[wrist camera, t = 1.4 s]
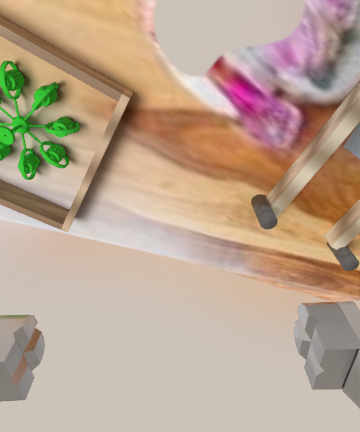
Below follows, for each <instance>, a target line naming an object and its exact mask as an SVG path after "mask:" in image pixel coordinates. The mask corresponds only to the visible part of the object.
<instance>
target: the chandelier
mask: <svg viewBox="0 0 360 432" xmlns="http://www.w3.org/2000/svg"><path fill="white" fill-rule="evenodd" d="M8 64H10V65H11V66H12V68H13V70H9V71H6V72H5V69H6V66H7V65H8ZM15 80H16V81H15ZM24 83H25V80H24V77H23V75H22V74H21V73H20V72H18V68H17V67H16V65H15V64H14V63H13V62H11V61H4V62H3V63H2V65H1V68H0V86H1V87H2V89H3V91H4V93H5V95H6V96H7V97H8V98H9V99H14V102H15V106H16V111H17V116H16V117H15V118H13V117H12V116H11V115H9V114H8V113H7V112H6V111H5V110H4V109H2V108H1V107H0V109H1V110H2V111H3V112H4V113H5V114H6V115H8V116H9V117H10V118H11V119H12V120H13V122H12V124H4V123H0V125H5V126H12V127H13V129H9V128H8V127H5V126H0V161H1V160H2V159H4V158H5V157H6V156H8V155H9V153H10V148H9V145H11V144H12V143H13V142H14V140H15V135H14V134H15V133H16V132H18V133H21V135H22V140H23V145H24V150H23V151H22V153H21V156H20V162H19V164H18V168H19V170H20V171H21V174H22V176H23V177H24V178H25V179H27V180H31V179H33V178H34V176H35V174H36V169H37V167H38V166H39V164H40V160H39V158H38V157H37V156H36V155H35V154H34V151H33V150H32V149H27V148H26V144H25V140H24V135H23V133H29V134H30V135H31V136H32V137H33V138H34V139H36V140H37V141H38V142H39V143H40V144H41V145H40V147H39V149H40V152H41V154H42V155H43V157H44V158H45V160H46V161H47V162H48V163H50V164H52V165H54V166H56V167H58V168H65V167H66V166H67V165H68V164H69V159H68V157H67V155H66V154H65V149H64V148H63V147H62V146H61V145H59V144H54V143H51V142H48V141H44V142H43V143H42V142H41V141H40V140H38V139H37V138H36V137H35V136H34V135H33V134H31V133H30V132H29V130H30V127H44V128H45V131H46V132H48V133H51V134H55V135H56V136H57V137H64V136H67V135H68V134H71V133H75V132H77V131H79V130H80V127H79V124H78V123H75V122H72V121H71V120H70V119H69V118H67V117H60V118H59V119H58V120H57V121H56V122H52V123H48V124H46V125H45V126H42V125H30V123H29V121H28V120H27V119H28V118H29V116H30V115H31V114H32V113H33V112H34V111H35V110H37V109H38V108H40V107H41V106H49V105H51V104H52V103H54V102H55V101H56V99H57V92H56V90H57V88H58V87H59V85H58V84H57V83H56V82H54V83H52V84H51V85H50V86H49V85H48V86H42V87H40V88H39V89H38V90H36V92H35V94H34V99H35V102H34V103H33V105H32V108H33V110H32V111H31V112H30V113H29V114H28V115H27V117H26V118H25V117H23V116H20V115H19V111H18V106H17V101H16V99H18V98H19V96H20V94H21V87H23V85H24ZM15 90H17V91H16V94H15V96H14V97H12V96H11V95H10V93H9V91H15ZM0 103H1V99H0ZM73 126H75V127H76V128H73ZM50 127H52V129H49V128H50ZM43 145H49V146H51V147H50V148H49V149H48V150H47V151H46V153H45V151H44V149H43ZM27 151H29V152H30V154H27V155H25V154H26V152H27ZM55 151H56V152H55ZM59 156H60V157H59ZM63 157H64V159H65V161H66V165H61V164H58V163H59V162H60V161H61V160H62V159H63ZM30 162H31V163H32V164H31V163H30ZM31 172H32V174H31V176H30V177H29V178H28V177H27V175H26V174H29V173H31Z"/></svg>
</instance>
